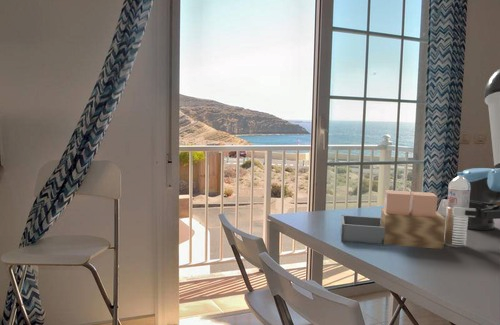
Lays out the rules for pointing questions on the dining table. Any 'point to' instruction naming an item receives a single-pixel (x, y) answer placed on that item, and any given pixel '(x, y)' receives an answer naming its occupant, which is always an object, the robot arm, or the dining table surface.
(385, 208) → the pink block
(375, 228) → the tray
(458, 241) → the water bottle
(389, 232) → the zigzag patterned block
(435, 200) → the salmon pink cube
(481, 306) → the dining table surface
